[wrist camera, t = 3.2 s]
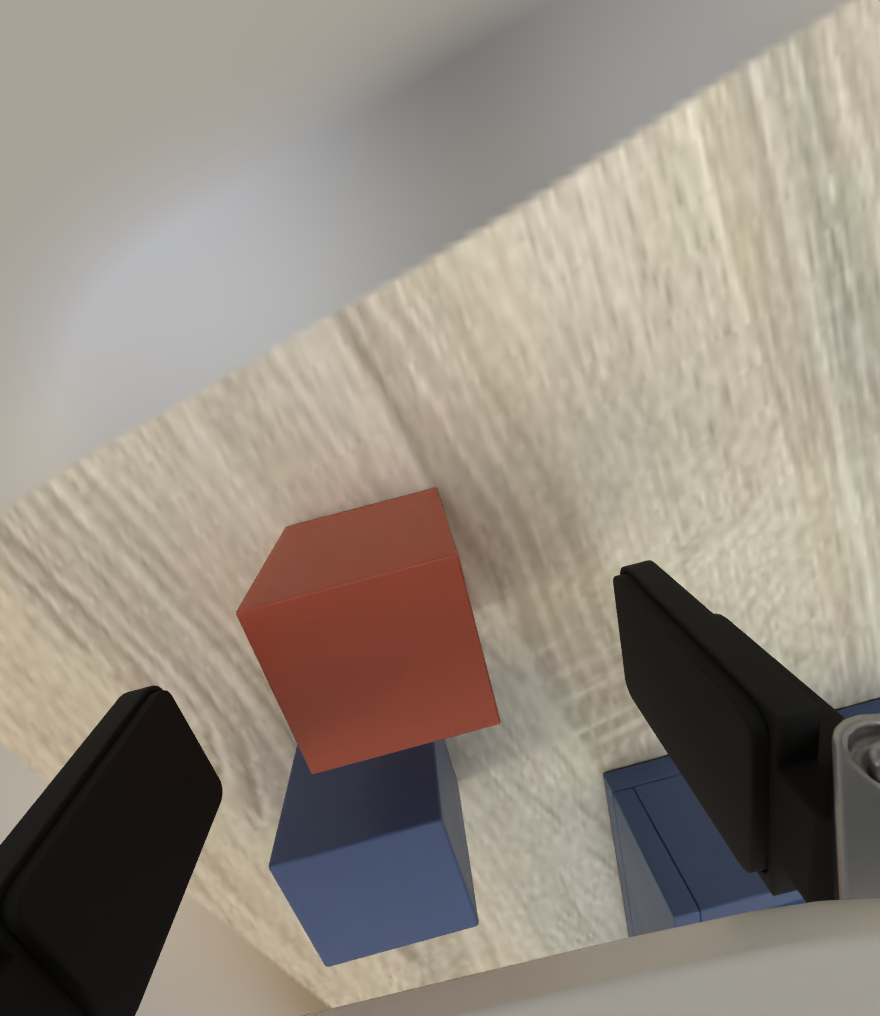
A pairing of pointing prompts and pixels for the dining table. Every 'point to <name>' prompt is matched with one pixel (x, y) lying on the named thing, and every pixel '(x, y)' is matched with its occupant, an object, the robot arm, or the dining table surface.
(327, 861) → the blue block
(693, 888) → the blue bin
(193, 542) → the dining table surface
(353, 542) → the terracotta block
